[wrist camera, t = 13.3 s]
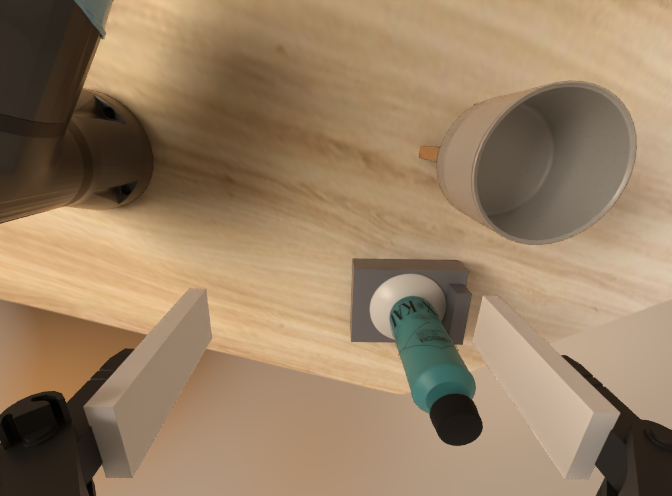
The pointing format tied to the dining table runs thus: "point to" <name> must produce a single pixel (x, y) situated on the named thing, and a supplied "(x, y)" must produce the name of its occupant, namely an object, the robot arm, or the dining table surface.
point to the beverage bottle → (435, 371)
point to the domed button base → (401, 281)
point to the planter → (538, 160)
